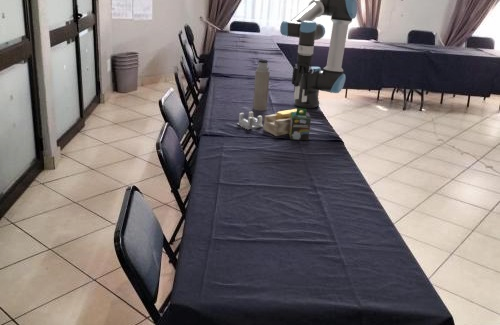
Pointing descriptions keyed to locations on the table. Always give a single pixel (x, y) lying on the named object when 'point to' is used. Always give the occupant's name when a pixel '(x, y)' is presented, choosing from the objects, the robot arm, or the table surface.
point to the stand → (250, 121)
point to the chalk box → (299, 125)
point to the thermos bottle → (261, 86)
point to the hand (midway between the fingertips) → (300, 100)
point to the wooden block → (285, 114)
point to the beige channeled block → (276, 125)
